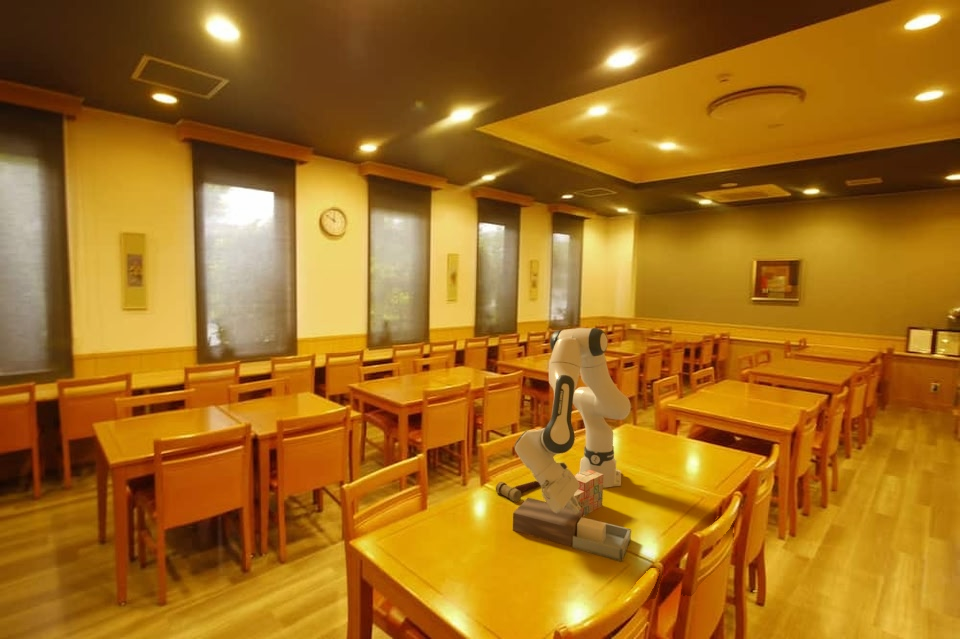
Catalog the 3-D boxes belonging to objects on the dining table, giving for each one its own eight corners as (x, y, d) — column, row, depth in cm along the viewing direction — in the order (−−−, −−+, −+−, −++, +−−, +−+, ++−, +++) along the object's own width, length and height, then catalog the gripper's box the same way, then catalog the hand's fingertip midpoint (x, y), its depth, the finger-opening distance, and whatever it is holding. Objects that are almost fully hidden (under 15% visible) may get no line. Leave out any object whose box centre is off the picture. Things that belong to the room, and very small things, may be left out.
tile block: (581, 517, 154) (606, 523, 150) (581, 531, 154) (605, 538, 150) (577, 523, 149) (602, 530, 145) (576, 539, 149) (601, 545, 146)
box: (584, 527, 158) (584, 517, 158) (630, 539, 151) (630, 529, 151) (572, 547, 146) (572, 537, 145) (621, 561, 139) (622, 550, 139)
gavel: (533, 473, 196) (551, 481, 189) (532, 484, 197) (550, 492, 189) (495, 482, 183) (513, 491, 175) (494, 494, 183) (512, 503, 176)
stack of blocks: (568, 525, 160) (569, 490, 159) (553, 518, 164) (554, 484, 164) (602, 505, 175) (603, 473, 174) (588, 500, 179) (589, 468, 178)
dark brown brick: (527, 513, 167) (527, 497, 167) (582, 528, 158) (583, 510, 157) (512, 530, 156) (513, 512, 155) (571, 546, 146) (571, 528, 146)
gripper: (546, 482, 145) (576, 520, 141) (566, 461, 163) (593, 494, 159) (532, 493, 147) (561, 531, 144) (553, 471, 165) (580, 504, 162)
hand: (578, 511), depth 152 cm, fingers closed
